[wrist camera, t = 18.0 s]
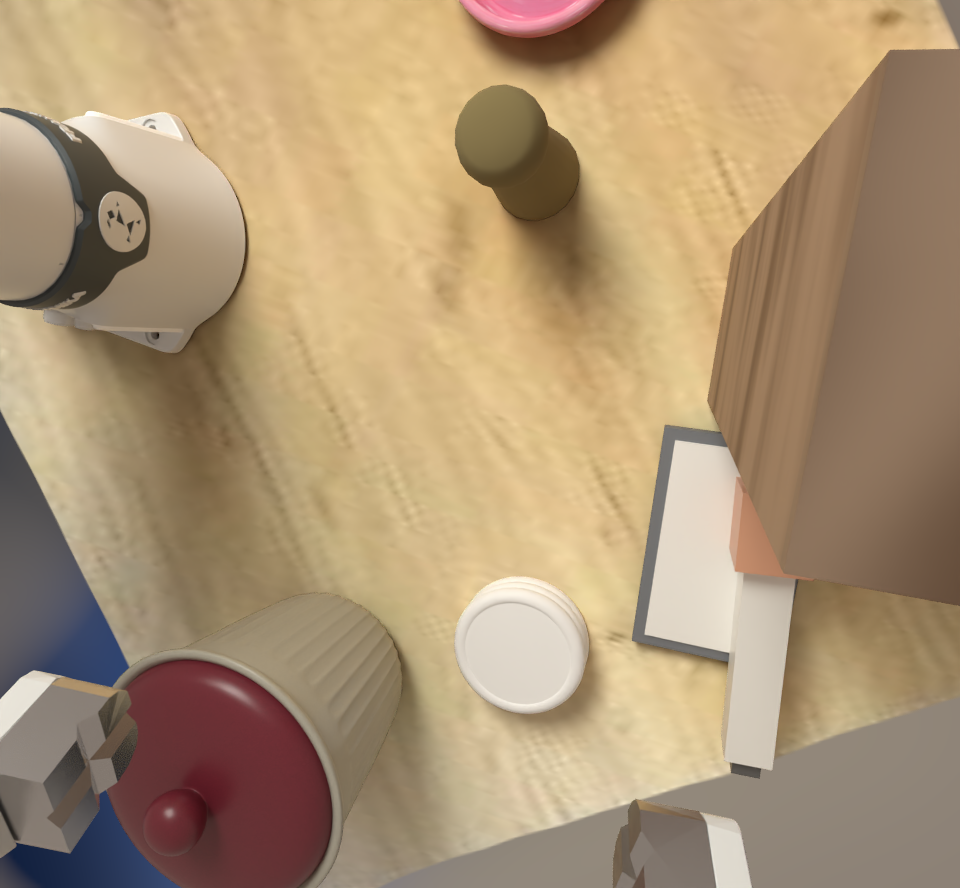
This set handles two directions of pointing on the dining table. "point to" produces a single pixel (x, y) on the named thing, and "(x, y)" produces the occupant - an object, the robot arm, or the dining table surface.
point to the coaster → (522, 645)
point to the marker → (755, 643)
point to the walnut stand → (856, 343)
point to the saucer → (529, 15)
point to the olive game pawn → (516, 152)
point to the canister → (257, 744)
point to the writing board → (690, 548)
